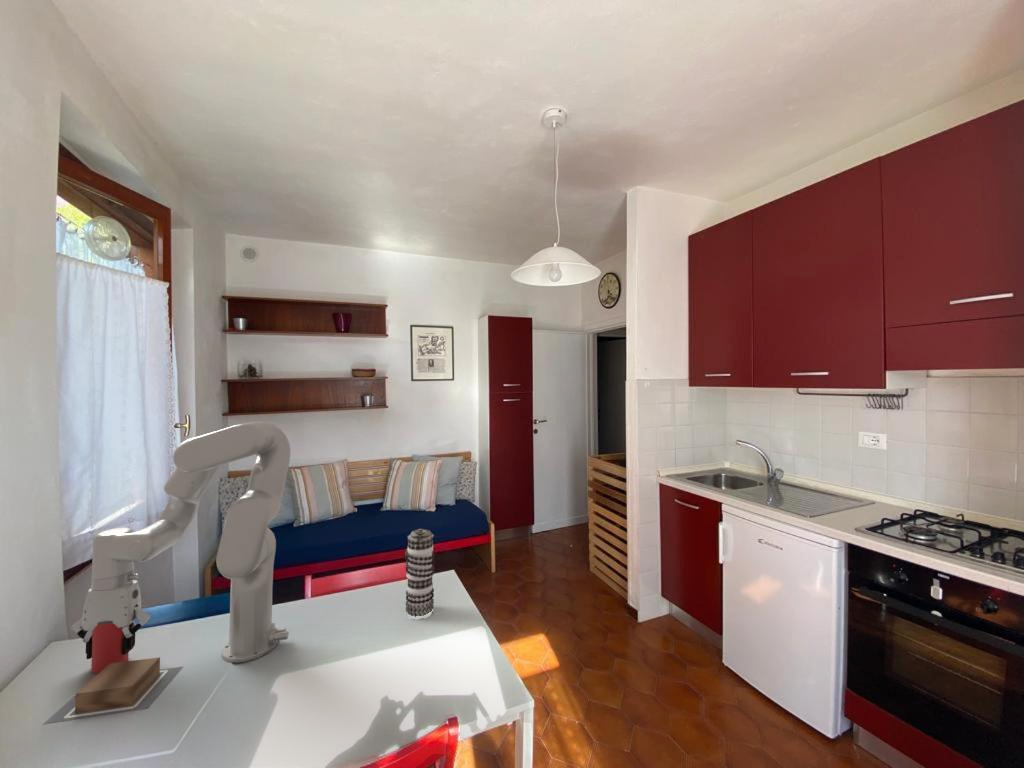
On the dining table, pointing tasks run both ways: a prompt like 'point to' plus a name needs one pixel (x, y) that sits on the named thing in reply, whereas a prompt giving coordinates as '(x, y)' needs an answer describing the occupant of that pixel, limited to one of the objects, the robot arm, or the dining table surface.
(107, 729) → the dining table surface
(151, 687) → the grey mat
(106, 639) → the beer can
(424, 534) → the decorative candle
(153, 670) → the walnut base block
